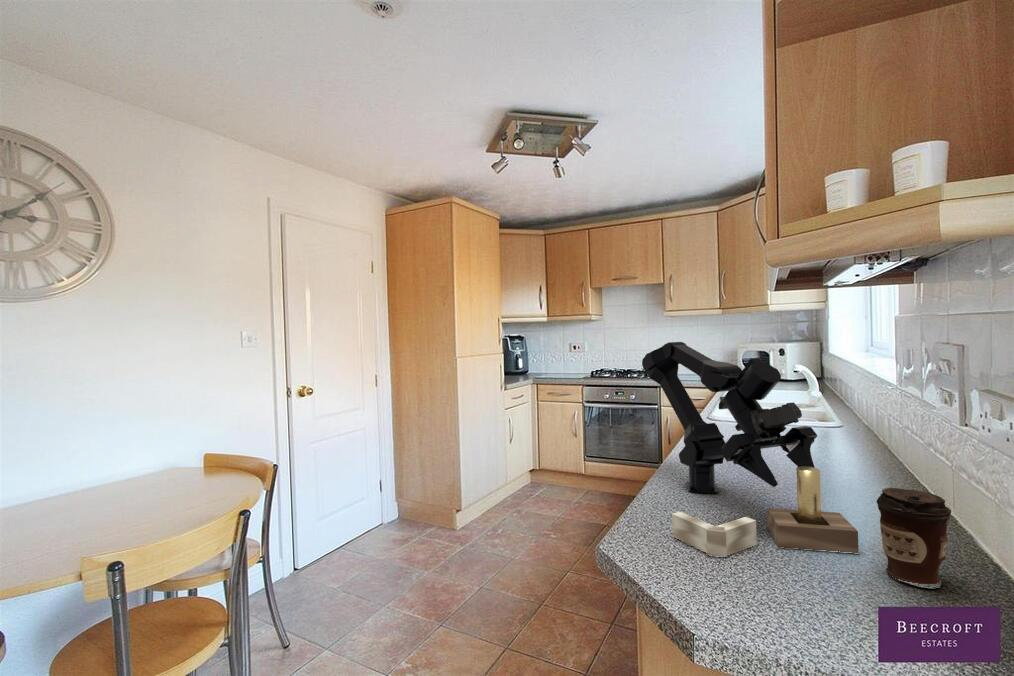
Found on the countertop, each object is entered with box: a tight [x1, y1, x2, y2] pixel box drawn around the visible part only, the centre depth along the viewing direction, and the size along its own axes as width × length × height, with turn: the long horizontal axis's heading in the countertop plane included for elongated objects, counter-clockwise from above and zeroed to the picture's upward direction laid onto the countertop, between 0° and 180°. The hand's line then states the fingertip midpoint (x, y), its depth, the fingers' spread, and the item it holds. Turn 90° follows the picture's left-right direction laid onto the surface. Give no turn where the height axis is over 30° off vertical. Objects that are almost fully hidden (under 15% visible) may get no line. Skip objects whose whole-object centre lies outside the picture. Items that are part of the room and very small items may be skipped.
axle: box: [795, 466, 822, 525], centre depth 85 cm, size 4×4×13 cm
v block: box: [671, 511, 758, 558], centre depth 84 cm, size 8×14×4 cm, turn 71°
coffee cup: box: [876, 487, 952, 584], centre depth 71 cm, size 9×8×13 cm
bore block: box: [766, 507, 860, 553], centre depth 85 cm, size 8×12×4 cm, turn 73°
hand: (795, 482), depth 87 cm, fingers open, 9 cm apart
